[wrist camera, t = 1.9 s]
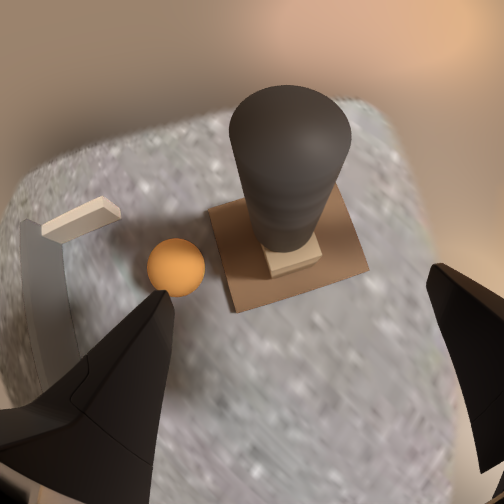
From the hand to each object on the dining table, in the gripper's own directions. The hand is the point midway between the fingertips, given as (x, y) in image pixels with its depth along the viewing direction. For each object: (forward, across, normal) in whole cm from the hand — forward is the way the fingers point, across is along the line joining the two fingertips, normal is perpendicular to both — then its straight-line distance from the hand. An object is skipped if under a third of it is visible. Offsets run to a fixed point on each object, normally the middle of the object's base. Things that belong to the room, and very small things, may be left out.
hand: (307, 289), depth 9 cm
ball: (+9, +8, +5) cm, 13 cm away
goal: (+9, +16, +8) cm, 20 cm away
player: (+11, 0, +5) cm, 12 cm away
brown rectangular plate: (+11, 0, +5) cm, 12 cm away
